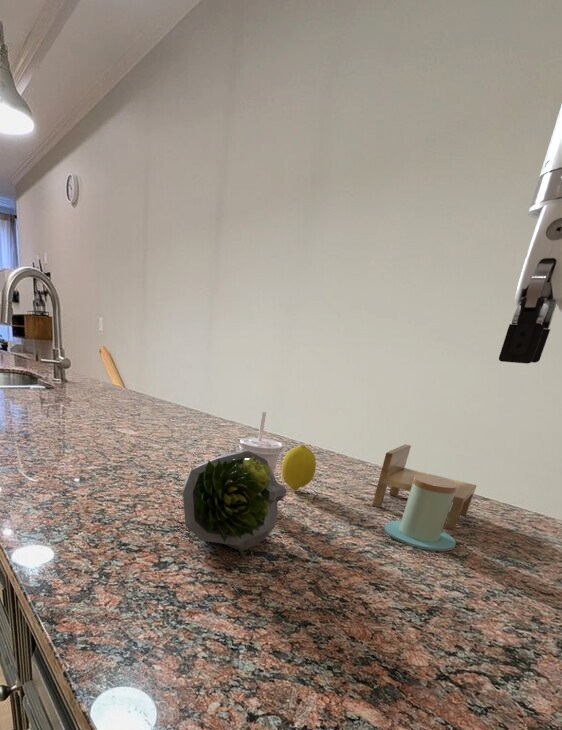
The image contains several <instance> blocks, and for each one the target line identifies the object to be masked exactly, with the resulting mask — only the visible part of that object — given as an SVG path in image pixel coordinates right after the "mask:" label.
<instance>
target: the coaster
mask: <svg viewBox="0 0 562 730" xmlns="http://www.w3.org/2000/svg"><path fill="white" fill-rule="evenodd" d="M400 524H401V520H392V521H388V522H387V523H385V524H384V525H385V526H384V531H385V533H386V534H387V535H388V536H389V537H391V538H392V539H393V540H396V541H397V542H400V543H403V544H405V545H407V546H410V547H414V548H417V549H421V550H427V551H431V552H433V551H434V552H447V551H451V550H453V549H455V547H456V544H457V542H456V540H455V538H453V536H451V535H450V534H448V533H447V532H445V531H444V530H443V531H442V534H441V537H440V539H439V540H438V541H435V542H427V541H421V540H417V539H414V538H411V537H408V536H406V535H404V534H403V533H401V532H400V530H399V527H400Z"/></svg>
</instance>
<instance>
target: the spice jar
mask: <svg viewBox="0 0 562 730" xmlns="http://www.w3.org/2000/svg"><path fill="white" fill-rule="evenodd" d="M431 475H432V474H431ZM431 475H415V476H414V477H413V481H412V483H413V484H412V487H411V490H410V491H409V493H408V497H407V500H406V503H405V507H404V510H403V514H402V517H401V520H400V521H401V524H400V527H399V530H400V532H401V533H403V534H404V535H406V536H408V537H411V538H414V539H417V540H421V541H427V542H435V541H438V540H439V539H440V537H441V534H442V531H443V532H444V528H445V524H446V521H447V518H448V516H449V513H450V510H451V507H452V504H453V499H454V496H455V493H456V492H457V490H458V487H459V485H458V484H457V483H455V482H453V481H451V480H448V479H449V478H448V479H445V478H446V477H444V478H441V477H442V476H440V477H437V476H438V475H436V476H431Z"/></svg>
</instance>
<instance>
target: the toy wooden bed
mask: <svg viewBox="0 0 562 730" xmlns="http://www.w3.org/2000/svg"><path fill="white" fill-rule="evenodd" d="M411 447H412V445H410V444H402V445H400V446H398V447H396V448H393V449H391V450H388V451H386V452H385V456H384V459H383V463H382V467H381V471H380V473H379V474H380V475H379V478H378V481H377V486H376V488H375V493H374V497H373V501H372V504H371V506H372V507H375V508H381V507H382V506H383V503H384V499H385V495H386V491H387V488H388V486H390V490H389V494H388V495H389V496H393V497H398V496H399V494H400V490H404V491H409V492H410V490H411V487H412V484H413V483H412V481H413V477H414V476H415V475H431V476H437V477H441V478H445V479H448V480H451V481H453V482H455V483H457V484H458V485H459V487H458V490H457V492H456V493H455V496H454V499H453V502H452V505H451V507H450V510H449V513H448V516H447V519H446V522H445V525H444V528H445V529H448V530H452V531H455V529H456V526H457V523H458V520H459V517H460V515H461V516H464V517H465V516H466V515H467V514H468V512H469V508H470V506H471V503H472V500H473V497H474V494H475V491H476V489H477V486H478V485H477V484H472V483H469V482H464V481H461V480H457V479H452V478H448V477H443V476H440V475H436V474H431V473H426V472H423V471H418V470H415V469H410V468H407V467H406V465H407V461H408V459H409V455H410V451H411Z"/></svg>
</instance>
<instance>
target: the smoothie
mask: <svg viewBox="0 0 562 730" xmlns="http://www.w3.org/2000/svg"><path fill="white" fill-rule="evenodd" d="M266 415H267V412H266V411H261V417H260V425H259V430H258V437H243V438H241V439H240V440H239V445H238V447H239V448H240V452H244V451H250V452H252V453H255V454H257V455H259V456H262V457H264V458H265V459H266V460H267V462H268V464H269V466H270V468H271V470H272V472H273V474H274V473H275V471H276V467H277V463H278V461H279V458H280V454H282V453H283V447H284V445H283V444H282V443H281V442H280V441H277V440H273V439H269V438H263V434H264V429H265V422H266ZM274 475H275V474H274Z"/></svg>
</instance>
